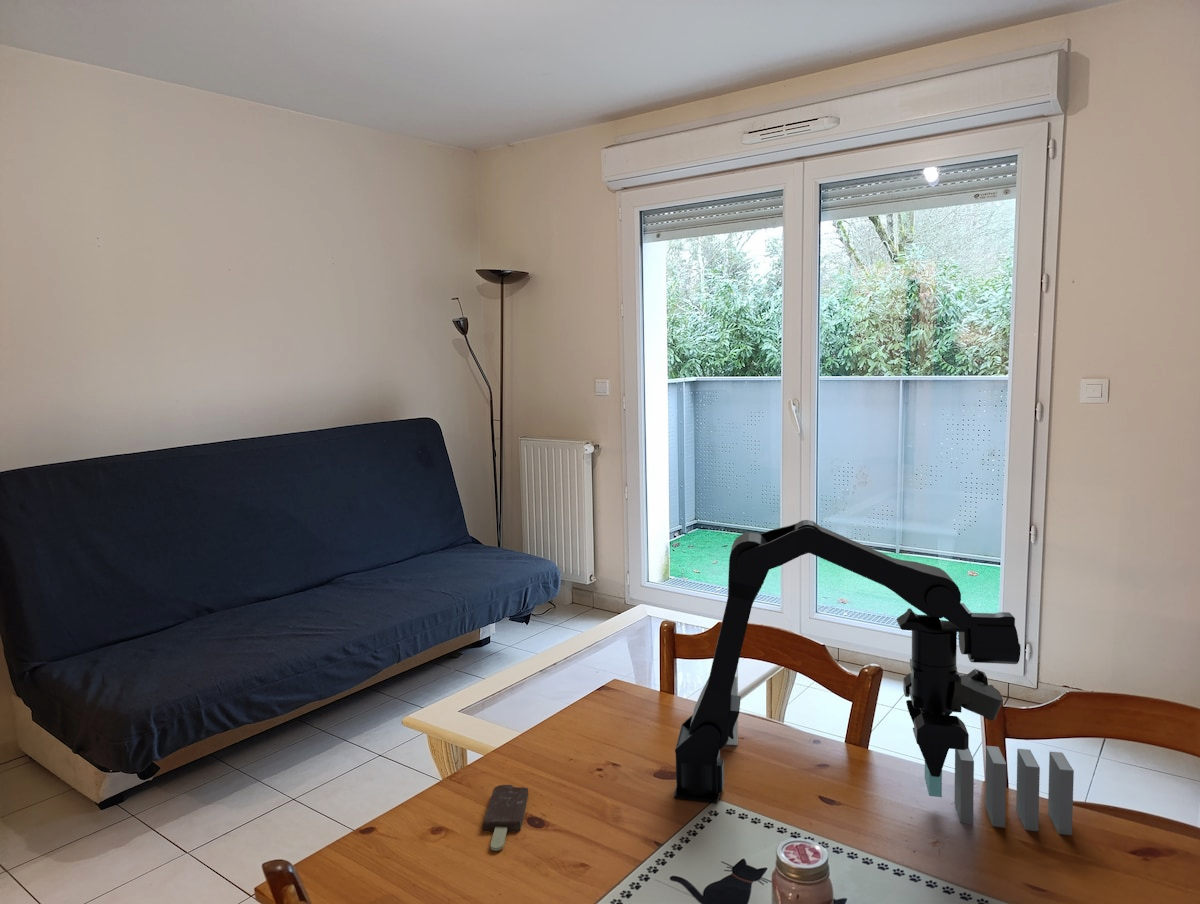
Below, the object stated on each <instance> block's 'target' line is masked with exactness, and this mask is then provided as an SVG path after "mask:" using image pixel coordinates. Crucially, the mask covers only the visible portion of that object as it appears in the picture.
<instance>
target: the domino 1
mask: <svg viewBox="0 0 1200 904" xmlns="http://www.w3.org/2000/svg"><path fill="white" fill-rule="evenodd" d="M974 774H975V761H974V757H973V755H972V751H971V750H970V748H968V749H966V750H959V749H954V801H953V802H954V806H955V809H956V812H957V816H958V820H959V823H961V824H971V825H973V824H974V791H975V790H974V788H975V787H974V785H975V781H974V777H975V775H974Z"/></svg>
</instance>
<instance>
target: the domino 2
mask: <svg viewBox="0 0 1200 904" xmlns="http://www.w3.org/2000/svg"><path fill="white" fill-rule="evenodd" d="M1007 768H1008V767H1007V762H1006V760H1005V758H1004V756H1003V754H1002V752H1001V749H1000V747H999V746H994V745H993V746H992V745H985V779H984V780H985V781H984V782H985V787H984V788H985V790H984V806H985V807H984V808H985V810H986V813H987V815H988V817H989V818H988V819H989V821H990V824H991V825H992V826H991V827H996V828H997V827H999V828H1006V820H1007V819H1006V818H1007V817H1006V814H1007V813H1006V811H1007V804H1006V803H1007V800H1006V799H1007Z"/></svg>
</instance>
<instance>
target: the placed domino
mask: <svg viewBox="0 0 1200 904" xmlns="http://www.w3.org/2000/svg"><path fill="white" fill-rule="evenodd" d="M924 781H925V784H926V788H927V793H928V796H929V797H936V798H943V796H942V793H943V792H942V791H943V786H942V785H943V783H942V782H943V770H942V771H941V774H940V776H939V777H933V776H931V774H930V772H929V769H928V767H927V764H926V762H925V761H924Z"/></svg>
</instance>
